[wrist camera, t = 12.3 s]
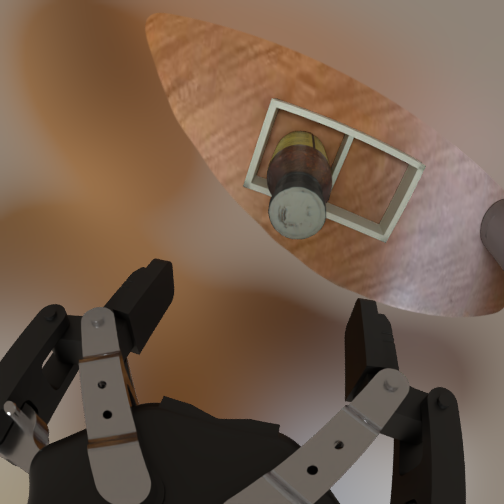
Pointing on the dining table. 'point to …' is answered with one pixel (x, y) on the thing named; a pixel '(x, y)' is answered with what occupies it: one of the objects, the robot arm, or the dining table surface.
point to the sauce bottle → (299, 185)
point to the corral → (332, 211)
